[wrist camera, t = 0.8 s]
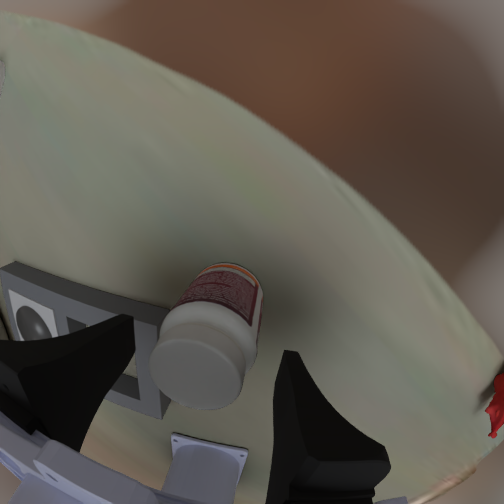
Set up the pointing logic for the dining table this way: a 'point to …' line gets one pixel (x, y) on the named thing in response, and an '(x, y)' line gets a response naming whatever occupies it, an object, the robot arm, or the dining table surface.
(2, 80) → the base with upright slab
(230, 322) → the pill bottle
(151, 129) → the dining table surface
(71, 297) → the socket strip
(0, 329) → the canister
